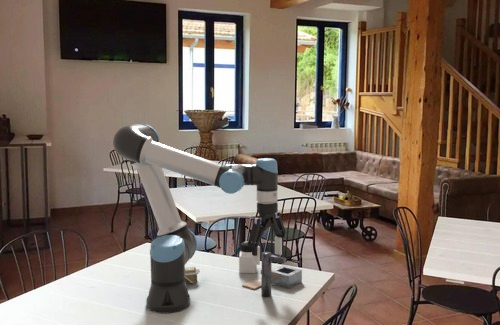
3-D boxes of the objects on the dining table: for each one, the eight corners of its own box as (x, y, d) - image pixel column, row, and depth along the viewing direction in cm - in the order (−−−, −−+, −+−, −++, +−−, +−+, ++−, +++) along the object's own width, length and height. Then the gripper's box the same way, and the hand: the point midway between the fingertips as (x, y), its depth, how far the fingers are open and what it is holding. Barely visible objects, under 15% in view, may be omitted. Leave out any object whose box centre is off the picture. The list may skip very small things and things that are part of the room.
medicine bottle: (256, 273, 209) (256, 245, 207) (239, 273, 209) (239, 245, 208) (256, 267, 216) (256, 240, 214) (239, 267, 216) (239, 240, 215)
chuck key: (259, 295, 186) (259, 253, 183) (265, 292, 188) (265, 251, 186) (281, 302, 180) (282, 258, 178) (287, 299, 182) (287, 256, 180)
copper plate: (254, 290, 191) (254, 288, 191) (242, 286, 195) (242, 284, 195) (265, 284, 196) (265, 283, 196) (253, 281, 200) (253, 279, 200)
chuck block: (289, 288, 192) (289, 276, 192) (255, 279, 202) (255, 267, 201) (301, 282, 199) (301, 269, 199) (268, 273, 209) (268, 261, 208)
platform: (213, 287, 195) (213, 270, 194) (166, 292, 189) (166, 275, 188) (206, 276, 206) (206, 261, 205) (162, 281, 201) (162, 265, 200)
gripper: (254, 209, 169) (254, 270, 172) (295, 197, 189) (295, 252, 191) (236, 206, 174) (237, 266, 177) (278, 195, 193) (278, 248, 196)
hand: (267, 259), depth 184 cm, fingers open, 13 cm apart
